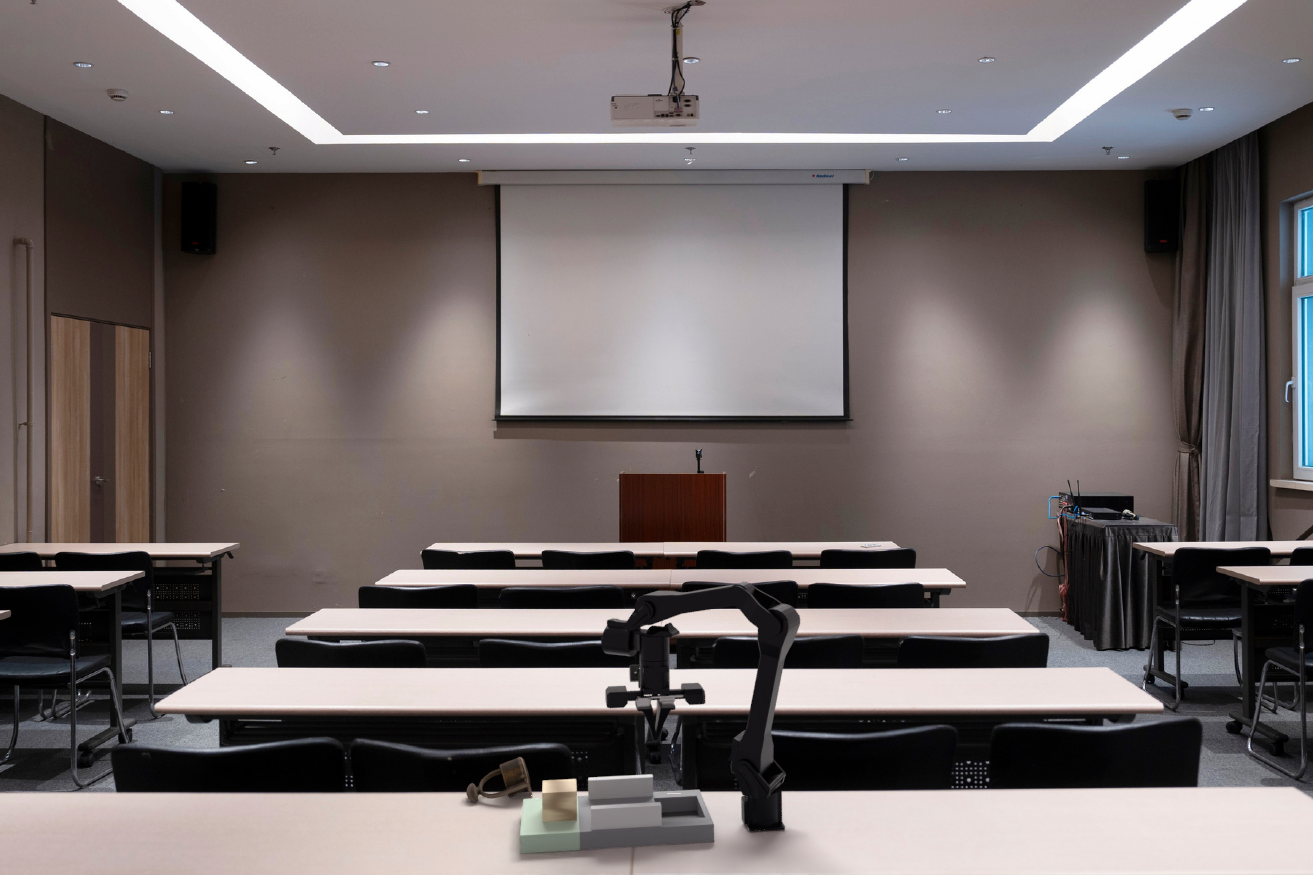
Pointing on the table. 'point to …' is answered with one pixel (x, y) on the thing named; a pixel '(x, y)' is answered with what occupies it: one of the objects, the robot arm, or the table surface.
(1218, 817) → the table surface
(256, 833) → the table surface
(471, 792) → the brown cylinder with loop
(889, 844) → the table surface
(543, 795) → the maple block
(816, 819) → the table surface
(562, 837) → the stepped grey tray
